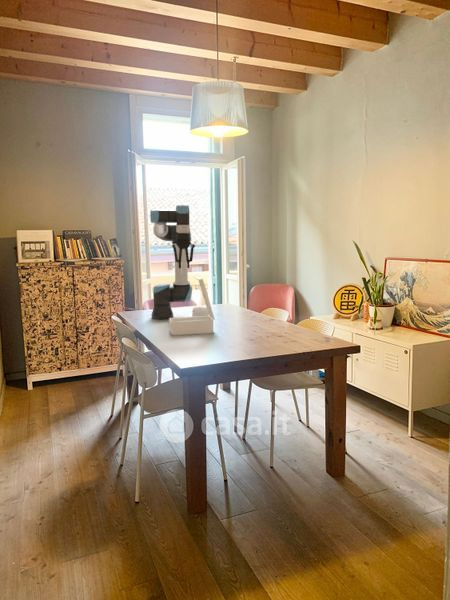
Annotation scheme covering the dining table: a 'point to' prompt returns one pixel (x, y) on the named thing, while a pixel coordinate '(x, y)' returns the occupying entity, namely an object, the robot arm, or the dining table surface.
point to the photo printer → (199, 312)
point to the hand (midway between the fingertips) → (184, 273)
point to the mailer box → (190, 325)
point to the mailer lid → (205, 297)
